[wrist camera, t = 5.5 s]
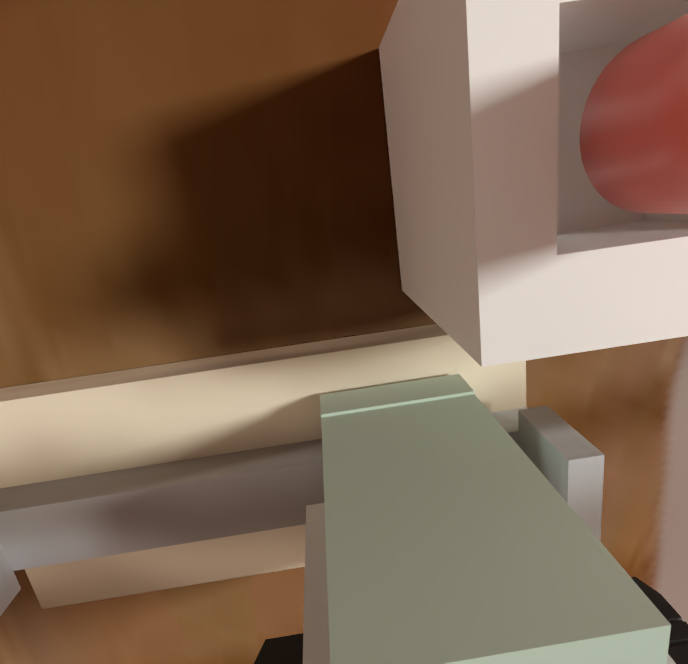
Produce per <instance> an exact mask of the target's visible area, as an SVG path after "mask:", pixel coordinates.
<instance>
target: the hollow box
mask: <svg viewBox="0 0 688 664" xmlns="http://www.w3.org/2000/svg"><path fill="white" fill-rule="evenodd" d="M686 14H688V0H399V1H398V3H397V5H396V8H395V10H394V13H393V15H392V17H391V20H390V22H389V24H388V27H387V29H386V32H385V34H384V36H383V39H382V41H381V44H380V46H379V55H380V66H381V76H382V87H383V97H384V108H385V118H386V128H387V139H388V149H389V160H390V170H391V181H392V191H393V202H394V212H395V223H396V233H397V243H398V254H399V264H400V275H401V285H402V291H403V292H404V293H405V294H406V295H407V296H408V297H409V298H410V299H411V300H413V301H414V302H415V303H416V304H417V305H418V306H419V307H420V308H421V309H422V310H423V311H424V312H425V313H426V314H427V315H428V316H429V317H430V318H431V319H432V320H433V321H434V322H435V323H436V324H437V325H439V326H440V327H441V328H442V329H443V330H444V331H445V332H446V333H447V334H448V335H449V336H450V337H451V338H452V339H453V340H454V341H455V342H456V343H457V344H458V345H459V346H460V347H461V348H462V349H463V350H465V351H466V352H467V353H468V354H469V355H470V356H471V357H472V358H473V359H474V360H475V361H476V362H477V363H478V364H479V365H480V366H481V367H486V366H492V365H499V364H505V363H512V362H519V361H525V360H532V359H538V358H545V357H552V356H558V355H565V354H571V353H578V352H585V351H591V350H598V349H604V348H611V347H618V346H624V345H631V344H637V343H644V342H651V341H657V340H664V339H670V338H677V337H683V336H688V214H661V213H636V212H631V211H627V210H624V209H621V208H619V207H616V206H615V205H613V204H611V203H610V202H608V201H607V200H606V199H604V198H603V197H602V196H601V195H600V194H599V193H598V192H597V190H596V189H595V188H594V187H593V185H592V183H591V182H590V180H589V178H588V176H587V174H586V172H585V169H584V166H583V163H582V159H581V152H580V125H581V120H582V114H583V111H584V107H585V104H586V101H587V98H588V96H589V94H590V92H591V89H592V87H593V86H594V84H595V82H596V80H597V79H598V77H599V75H600V74H601V73H602V71H603V70H604V68H605V67H606V66H607V65H608V64H609V62H610V61H611V60H612V59H613V58H614V57H615V56H616V55H617V54H618V53H619V52H620V51H622V50H623V49H624V48H625V47H626V46H628V45H629V44H631V43H632V42H634V41H635V40H637V39H639V38H641V37H643V36H645V35H647V34H649V33H651V32H653V31H654V30H656V29H658V28H660V27H662V26H664V25H666V24H668V23H670V22H672V21H674V20H676V19H678V18H680V17H682V16H684V15H686Z"/></svg>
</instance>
